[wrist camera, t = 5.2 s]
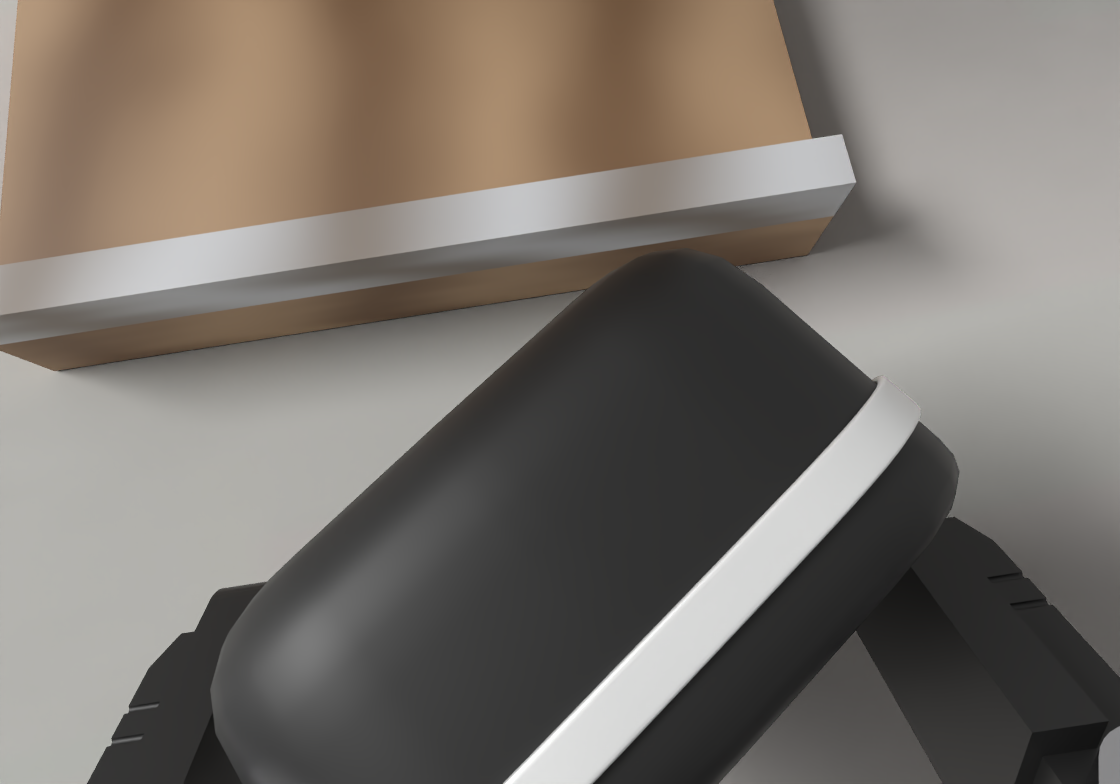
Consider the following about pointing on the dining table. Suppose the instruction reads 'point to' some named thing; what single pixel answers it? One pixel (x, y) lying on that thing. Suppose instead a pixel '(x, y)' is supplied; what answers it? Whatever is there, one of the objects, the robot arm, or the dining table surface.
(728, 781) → the dining table surface
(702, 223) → the shelf
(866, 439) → the battery charger
